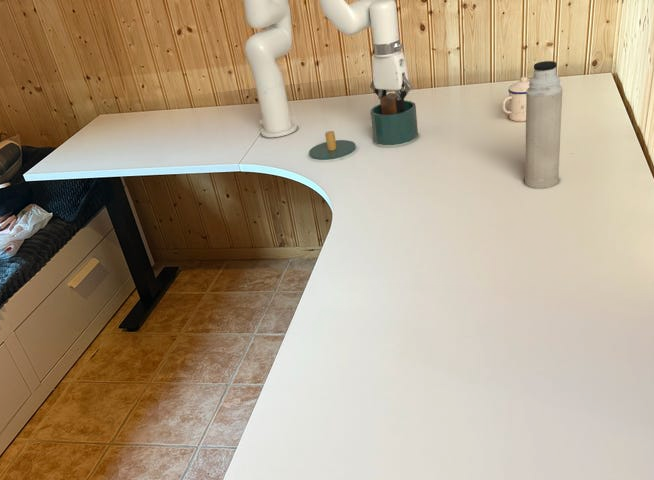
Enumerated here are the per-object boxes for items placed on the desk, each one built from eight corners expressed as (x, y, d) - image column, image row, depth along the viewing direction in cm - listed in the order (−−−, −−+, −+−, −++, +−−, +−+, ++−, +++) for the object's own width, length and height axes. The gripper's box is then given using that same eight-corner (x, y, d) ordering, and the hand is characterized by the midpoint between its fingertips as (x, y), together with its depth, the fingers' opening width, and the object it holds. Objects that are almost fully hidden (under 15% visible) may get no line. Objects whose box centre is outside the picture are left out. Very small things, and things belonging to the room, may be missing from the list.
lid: (300, 157, 207) (296, 137, 204) (333, 141, 214) (330, 121, 211) (331, 164, 198) (328, 144, 194) (365, 147, 205) (363, 127, 201)
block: (381, 115, 203) (380, 98, 200) (391, 109, 205) (389, 92, 202) (395, 116, 200) (393, 99, 197) (404, 110, 202) (403, 93, 200)
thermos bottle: (526, 175, 171) (528, 59, 154) (559, 174, 168) (565, 56, 151) (523, 188, 165) (524, 69, 148) (556, 187, 162) (562, 66, 146)
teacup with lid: (528, 109, 210) (528, 71, 203) (545, 116, 203) (546, 76, 196) (494, 119, 207) (494, 80, 200) (510, 126, 200) (510, 86, 193)
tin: (365, 143, 208) (361, 112, 203) (394, 128, 215) (391, 98, 209) (397, 149, 200) (394, 117, 194) (427, 134, 206) (424, 103, 200)
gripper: (418, 44, 189) (423, 109, 200) (370, 44, 199) (377, 106, 209) (403, 52, 185) (409, 118, 195) (355, 51, 194) (363, 114, 205)
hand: (393, 111), depth 202 cm, fingers closed on block, 5 cm apart
